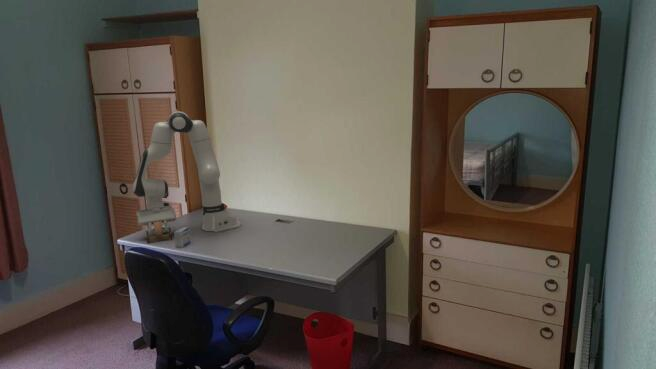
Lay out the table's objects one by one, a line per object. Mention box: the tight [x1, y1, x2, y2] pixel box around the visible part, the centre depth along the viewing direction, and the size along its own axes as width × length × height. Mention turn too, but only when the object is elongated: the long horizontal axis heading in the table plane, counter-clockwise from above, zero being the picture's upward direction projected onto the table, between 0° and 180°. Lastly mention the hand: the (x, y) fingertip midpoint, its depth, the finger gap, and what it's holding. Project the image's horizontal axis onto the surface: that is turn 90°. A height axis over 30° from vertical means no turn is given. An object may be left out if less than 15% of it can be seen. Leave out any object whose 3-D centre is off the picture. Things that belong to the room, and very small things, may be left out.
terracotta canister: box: [152, 221, 165, 237], centre depth 257 cm, size 4×4×10 cm
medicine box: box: [173, 226, 191, 248], centre depth 247 cm, size 8×4×9 cm, turn 168°
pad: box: [153, 228, 168, 236], centre depth 272 cm, size 7×10×1 cm
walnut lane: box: [145, 227, 173, 244], centre depth 260 cm, size 13×14×3 cm
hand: (158, 229), depth 256 cm, fingers closed on terracotta canister, 4 cm apart
